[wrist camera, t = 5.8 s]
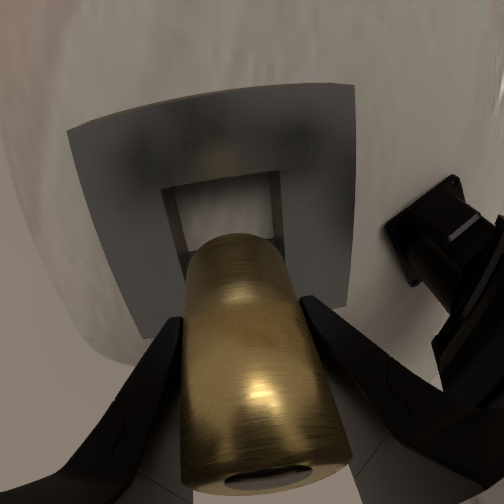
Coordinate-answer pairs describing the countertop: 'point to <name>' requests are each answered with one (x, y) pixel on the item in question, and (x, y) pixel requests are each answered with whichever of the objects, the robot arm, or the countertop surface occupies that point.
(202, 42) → the countertop surface
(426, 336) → the countertop surface
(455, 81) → the countertop surface
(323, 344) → the robot arm
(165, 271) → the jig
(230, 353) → the bushing
